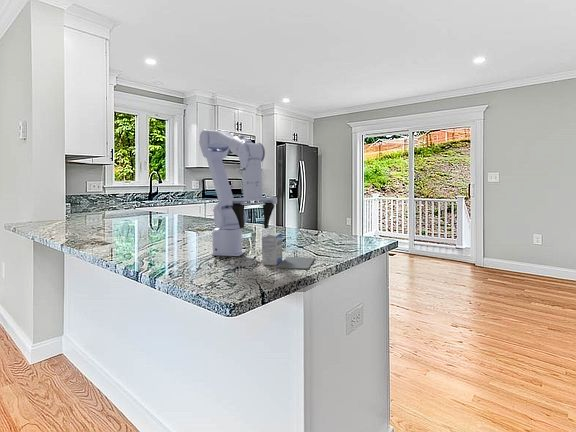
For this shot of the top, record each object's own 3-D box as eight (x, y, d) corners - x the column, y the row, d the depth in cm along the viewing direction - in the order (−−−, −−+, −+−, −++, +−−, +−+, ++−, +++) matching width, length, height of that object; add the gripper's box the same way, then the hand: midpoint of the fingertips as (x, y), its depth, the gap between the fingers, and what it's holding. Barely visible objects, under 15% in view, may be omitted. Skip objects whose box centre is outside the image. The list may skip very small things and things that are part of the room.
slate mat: (276, 268, 105) (276, 266, 105) (287, 257, 118) (287, 256, 118) (308, 269, 103) (308, 268, 103) (314, 258, 116) (314, 257, 116)
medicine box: (276, 265, 108) (276, 236, 107) (262, 265, 109) (261, 236, 108) (282, 260, 115) (282, 232, 115) (268, 259, 116) (268, 232, 115)
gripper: (225, 183, 108) (226, 229, 109) (272, 182, 106) (274, 229, 107) (233, 184, 115) (234, 227, 116) (278, 182, 113) (279, 226, 114)
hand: (254, 228), depth 112 cm, fingers open, 7 cm apart
